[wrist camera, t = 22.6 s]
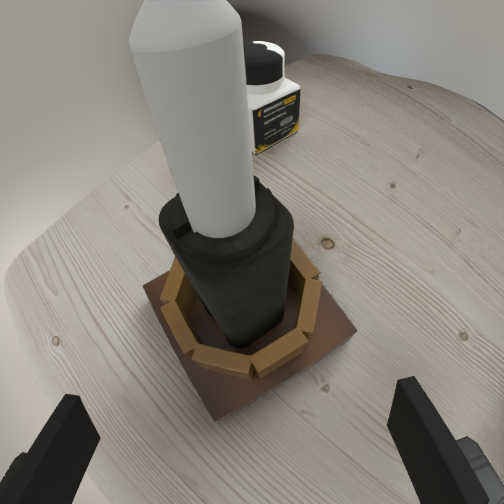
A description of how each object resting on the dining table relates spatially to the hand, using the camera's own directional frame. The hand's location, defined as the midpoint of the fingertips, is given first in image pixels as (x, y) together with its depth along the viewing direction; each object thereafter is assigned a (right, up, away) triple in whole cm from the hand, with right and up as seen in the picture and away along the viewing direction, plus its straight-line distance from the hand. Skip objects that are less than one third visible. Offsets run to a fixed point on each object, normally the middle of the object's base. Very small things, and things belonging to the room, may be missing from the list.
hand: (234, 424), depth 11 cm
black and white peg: (0, +2, +14) cm, 14 cm away
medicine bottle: (+2, +22, +28) cm, 36 cm away
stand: (0, +1, +16) cm, 16 cm away
